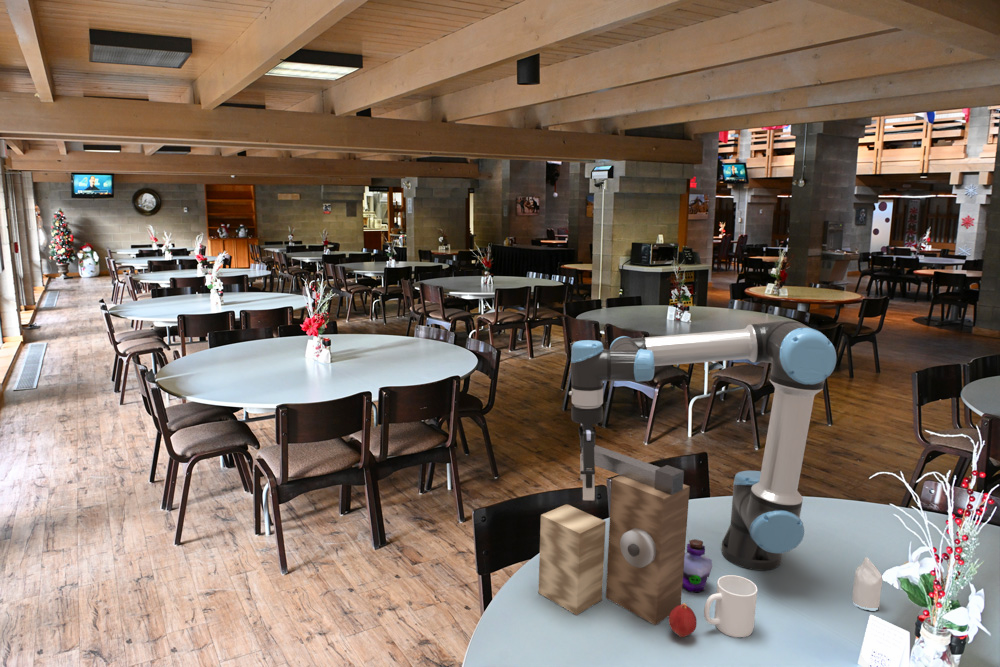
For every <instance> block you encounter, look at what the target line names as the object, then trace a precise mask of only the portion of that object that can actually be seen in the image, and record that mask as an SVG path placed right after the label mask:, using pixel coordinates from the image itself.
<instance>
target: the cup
mask: <svg viewBox="0 0 1000 667" xmlns="http://www.w3.org/2000/svg"><path fill="white" fill-rule="evenodd" d="M716 583H717V584H716V593H713V594H710V595H709V596H708V598H706V601H705V605H704V610H703V614H704V620H705V621H706V622H707V623H708V624H710V625H715V627H716V628H717V629H718V630H719V631H720V632H721V633H722V634H724V635H726V636H729V637H732V638H737V637H743V638H747V637H749V636H750V635H751V634H753V631H754V627H755V618H756V610H757V609H756V608H757V599H758V598H757V597H758V587H757V585H756V583H755V582H753V581H752V580H750V579H748V578H746V577H743V576H740V575H734V574H733V575H732V574H730V575H728V574H727V575H722V576H721V577H719V578H718V579H717V582H716ZM714 601H715V606H714V607H715V608H714V618H712V617H710V609H711V605H712V603H713V602H714ZM746 636H747V637H746Z"/></svg>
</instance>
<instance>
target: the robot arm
mask: <svg viewBox="0 0 1000 667" xmlns="http://www.w3.org/2000/svg"><path fill="white" fill-rule="evenodd" d="M736 360H737V361H738V360H748V361H750V362H751V363H769V364H771V367H770V368H771V369H770V375H769V382H770V383H771V384H772V385H773V388H774V392H773V398H772V405H771V410H770V415H769V422H768V428H767V435H766V439H765V440H766V441H765V445H764V446H765V447H764V452H763V457H762V464H761V470H759V471H758V470H742V471H739V472H737V473H735V476H734V481H733V483H732V484H733V487H732V488H733V489H732V490H733V491H732V501H731V510H730V512H731V514H730V523H729V525H728V529H727V531H726V532H725V535H724V537H723V539H722V542H721V548H720V549H721V550H720V551H721V555H722V556H723V557H724V558H725V559H726V560H728V561H729V562H730V563H732V564H733V565H736V566H739V567H742V568H745V569H748V570H749V569H750V570H754V571H755V570H756V571H769V570H773V569H776V568H778V567H779V566H780V565H781V564H782V558H783V554H784V553H788V552H790V551H791V550H794V549H796V548H797V547H798V546H799V545H800V544H801V542H802V541H803V539H804V537H805V526H804V522H803V520H802V519H801V511H802V507H803V500H804V498H803V496H802V495H801V494H800V492H799V491H798V488H799V481H800V476H801V472H802V465H803V461H804V454H805V449H806V444H807V438H808V433H809V427H810V424H811V423H810V421H811V416H812V411H813V405H814V399H815V396H816V395H817V394H818V393H820V392H821V391H823V390H824V386H825V382H826V379H827V378H828V377H830V376H831V374H832V373H833V372H834V370H835V368H836V364H837V352H836V349H835V346H834V345H833V343H832V341H830V339H829V338H827V336H826V335H825V334H823V333H822V332H821V331H819V330H818V329H815V328H811V327H809V326H808V325H806V324H804V323H802V322H799V321H795V320H778V321H769V322H768V321H767V322H760V323H751V324H748V325H746V327H745V328H742V329H741V328H740V329H739V328H738V329H730V330H728V329H727V330H720V331H719V330H717V331H705V332H693V333H683V334H668V335H660V336H659V335H658V336H657V335H656V336H648V337H636V338H633V337H629V336H625V335H622V336H619V337H617V338H615V339H614V340H613V341H611V344H610V346H609V349H607V348H605V349H604V344H603V342H602V341H599V340H591V339H590V340H589V339H587V340H583V339H582V340H578V341H574V343H572V345H571V357H570V374H571V376H570V378H571V387H570V388H571V390H570V391H568V395H569V396H571V404H572V405H571V406H570V407H571V412H570V413H571V420H572V422H574V423H576V424H580V426H578V435H579V438H578V439H579V440H580V441H579V449H580V450H579V452H580V454H579V455H580V456H579V458H580V459H579V460H580V462H579V464H580V465H579V467H580V468H579V472H580V474H579V475H580V476H579V477H580V480H582V501H596V500H595V499H596V498H595V493H596V492H595V483H596V482H595V477H596V476H595V475H596V469H595V467H596V466H595V461H594V447H595V445H596V435H597V431H596V427H595V426H593V425H594V424H599V423H601V422H602V421H603V420H604V414H603V412H604V410H603V409H604V408H603V406H602V405H603V404H604V386H603V385H604V384H603V382H636V383H641V382H649V381H652V380H653V379H654V376H655V367H659V366H661V367H662V366H672V365H674V366H675V365H683V364H698V363H712V362H724V361H736ZM582 448H583V461H582V460H581V454H582Z"/></svg>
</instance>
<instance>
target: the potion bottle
mask: <svg viewBox="0 0 1000 667" xmlns="http://www.w3.org/2000/svg"><path fill="white" fill-rule="evenodd" d="M705 552H706V548H705V545H704V542H703V541H702V540H701V539H691V540H689V543H687V544H686V551H685V557H684V570H683V584H682V590H683V589H684V590H685V591H686V592H688V593H694V594H695V593H696V594H699V593H703V592H704V591H705V587H706V584H707V581H708V578H710V575H711V572H712V570H713V561H712V558H709V557H708V556H706V555H705V554H706V553H705Z"/></svg>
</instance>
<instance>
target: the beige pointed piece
mask: <svg viewBox="0 0 1000 667" xmlns="http://www.w3.org/2000/svg"><path fill="white" fill-rule="evenodd" d="M854 573H855V574H854V580H853V585H852V597H851V598H852V599H851V601H852V600H853V602H854V603H855V604H857V605H859V606H861V607H865V608H866V607H867V608H878V607H879V608H880V603H881V602H880V601H881V593H882V587H883V576H882V574H881V572H880V571H879V569H878V568H877V567H876V566H875V564H873V562H872V561H871V560H870V559H869V557H865V558H863V561H862V563H861V564H860V565H858V566H857V568H856V569H855V572H854ZM853 602H852V603H853Z"/></svg>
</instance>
